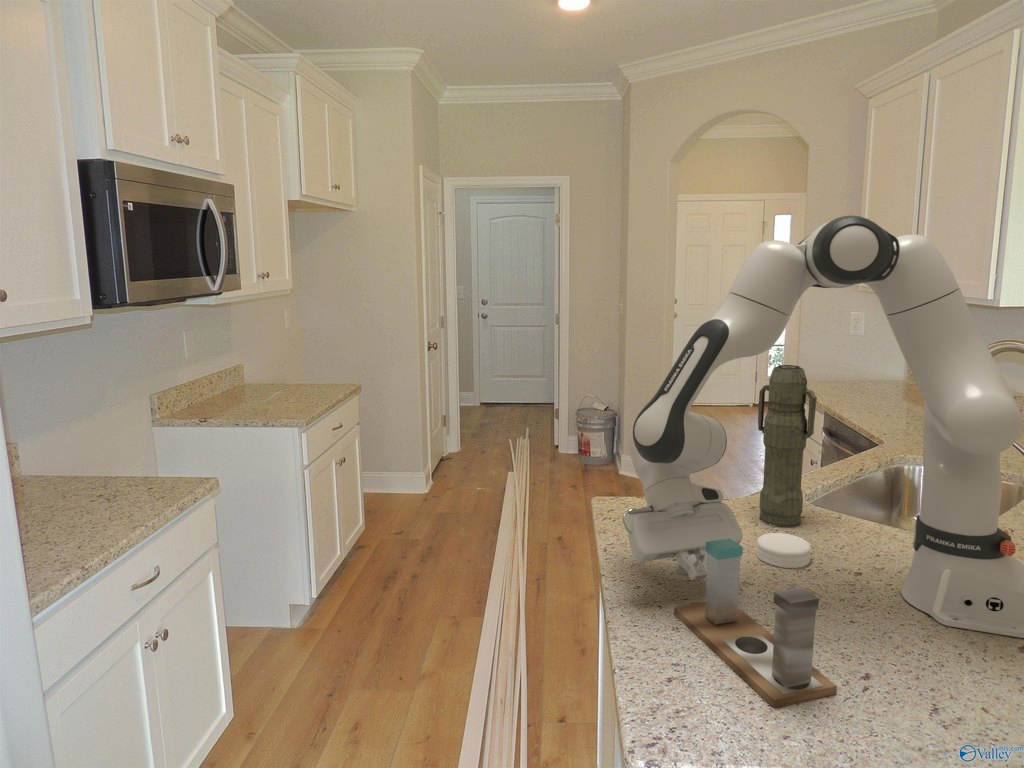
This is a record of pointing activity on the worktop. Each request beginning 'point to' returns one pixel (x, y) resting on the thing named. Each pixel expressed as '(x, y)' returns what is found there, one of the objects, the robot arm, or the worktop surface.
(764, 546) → the white flat disc
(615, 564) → the worktop surface
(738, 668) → the wooden grinder stand
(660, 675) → the worktop surface
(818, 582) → the worktop surface
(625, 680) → the worktop surface
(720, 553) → the teal-lidded container
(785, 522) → the thermos
